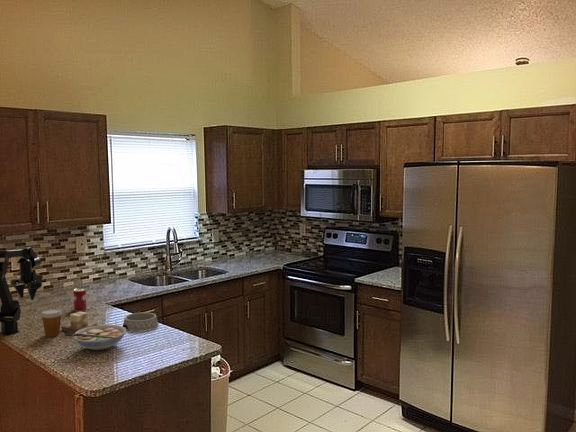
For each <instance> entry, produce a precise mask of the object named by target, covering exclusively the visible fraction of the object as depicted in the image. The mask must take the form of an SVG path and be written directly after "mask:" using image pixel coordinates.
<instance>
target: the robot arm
mask: <svg viewBox="0 0 576 432" xmlns="http://www.w3.org/2000/svg"><path fill="white" fill-rule="evenodd" d="M11 258H19V259H18V260H17V264H19V272H17V274H18V275H19V277H18V278H14V279H11V280H10V284H11V286H12V287H13V288H14V289H15V290H16V292H17V294H18V295H19V297H20V298H21V299H22V298H23V299H24V293H25V286H26V287H27V289H26V290H27V293H28V295H29V298H30V300H31V301H34V300H35V295H36V293H37V291H38V289H41V287H43V282H42V280H43V278H44V275H40V274H37V273H36V272H34V271H33V269H34V268H37V267H40V265H41V264H42V260H41V258H40V257H39V256H38V254H36V252H35V250H34V249H33V247H32V246H18V247H16V248H15V249H6V250H4V249H3V250H1V249H0V259H4V261H0V302H1V305H0V328H1V329H0V335H4V336H10V335H12V334H17V333H19V332H20V330H19V323H18V321H20V319H21V311H22V310H21V305H20V302H19V300H17V299H15V300H14V298H13V296H12V293H11V290H10V287H9V283H8V280H7V277H6V275H7V272H8V267H9V266H10V260H9V259H11Z"/></svg>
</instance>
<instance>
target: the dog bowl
mask: <svg viewBox="0 0 576 432" xmlns="http://www.w3.org/2000/svg"><path fill="white" fill-rule="evenodd" d="M125 325H126V326H127V329H128V331H129V332H143V331H144V330H145V331H149V329H150V330H153V329H155V328H157V327H158V326H159V322H158V317H157V314H156V313H153V312H148V311H147V312H134V313H129V314H128V315H125V317H124V320H123V324H122V327H124V326H125ZM145 331H144V332H145Z"/></svg>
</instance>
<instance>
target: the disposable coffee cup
mask: <svg viewBox="0 0 576 432" xmlns="http://www.w3.org/2000/svg"><path fill="white" fill-rule="evenodd" d="M62 314H63V312H62V310H61V309H60V308H52V309H51V308H50V309H46V310H43V311H42V312H41V314H40V317H41V319H42V324H43V328H44V329H43V330H44V335H45V337H48V338H51V337H57V336H59V335H60V333H61V332H60V330H61V322H62V321H61V320H62Z"/></svg>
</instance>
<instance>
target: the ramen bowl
mask: <svg viewBox="0 0 576 432" xmlns="http://www.w3.org/2000/svg"><path fill="white" fill-rule="evenodd" d="M126 332H127V331H126V327H124V326H123V325H117V324H99V325H98V324H97V326H92V327H87V328H84V329H81V330H78V331H77V332H76V333H71V332H67V333H64V336H68V337H73V338H74V340H75V341H76V342H77V344H79V345H80V346H81V347H83V348H85V349H89V350H93V351H105V350H107V349H109V348H111V347H113V346H116V344H118V343H119V342H121V340H122V339H123V338H124V335H126V334H125V333H126ZM104 349H105V350H104Z"/></svg>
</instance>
